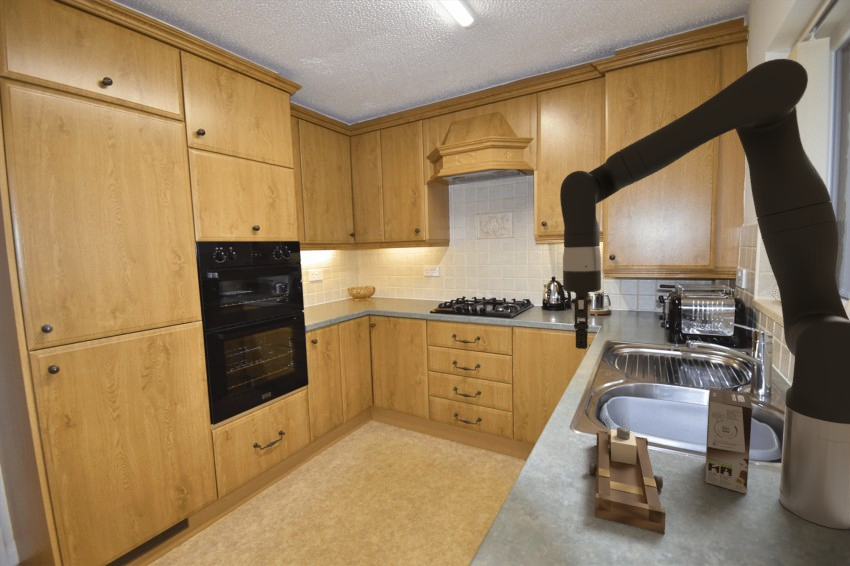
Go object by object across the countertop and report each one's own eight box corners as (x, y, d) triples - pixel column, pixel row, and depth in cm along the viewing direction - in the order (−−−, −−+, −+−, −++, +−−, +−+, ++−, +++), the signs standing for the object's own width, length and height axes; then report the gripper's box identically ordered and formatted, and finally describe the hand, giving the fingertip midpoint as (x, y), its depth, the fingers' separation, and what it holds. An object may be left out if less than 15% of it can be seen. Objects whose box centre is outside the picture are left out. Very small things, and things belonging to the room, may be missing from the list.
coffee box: (748, 495, 70) (753, 408, 69) (704, 482, 74) (708, 400, 73) (745, 471, 77) (750, 392, 76) (705, 461, 81) (709, 386, 80)
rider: (633, 450, 83) (634, 425, 82) (636, 465, 77) (636, 438, 77) (610, 446, 85) (610, 421, 84) (611, 460, 79) (611, 433, 79)
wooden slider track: (653, 454, 84) (653, 438, 84) (673, 536, 61) (674, 513, 60) (590, 443, 89) (591, 428, 89) (587, 515, 66) (587, 494, 65)
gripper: (601, 270, 75) (601, 353, 76) (600, 266, 88) (600, 337, 89) (560, 270, 78) (561, 350, 79) (564, 267, 91) (565, 336, 92)
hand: (581, 343), depth 84 cm, fingers open, 8 cm apart
